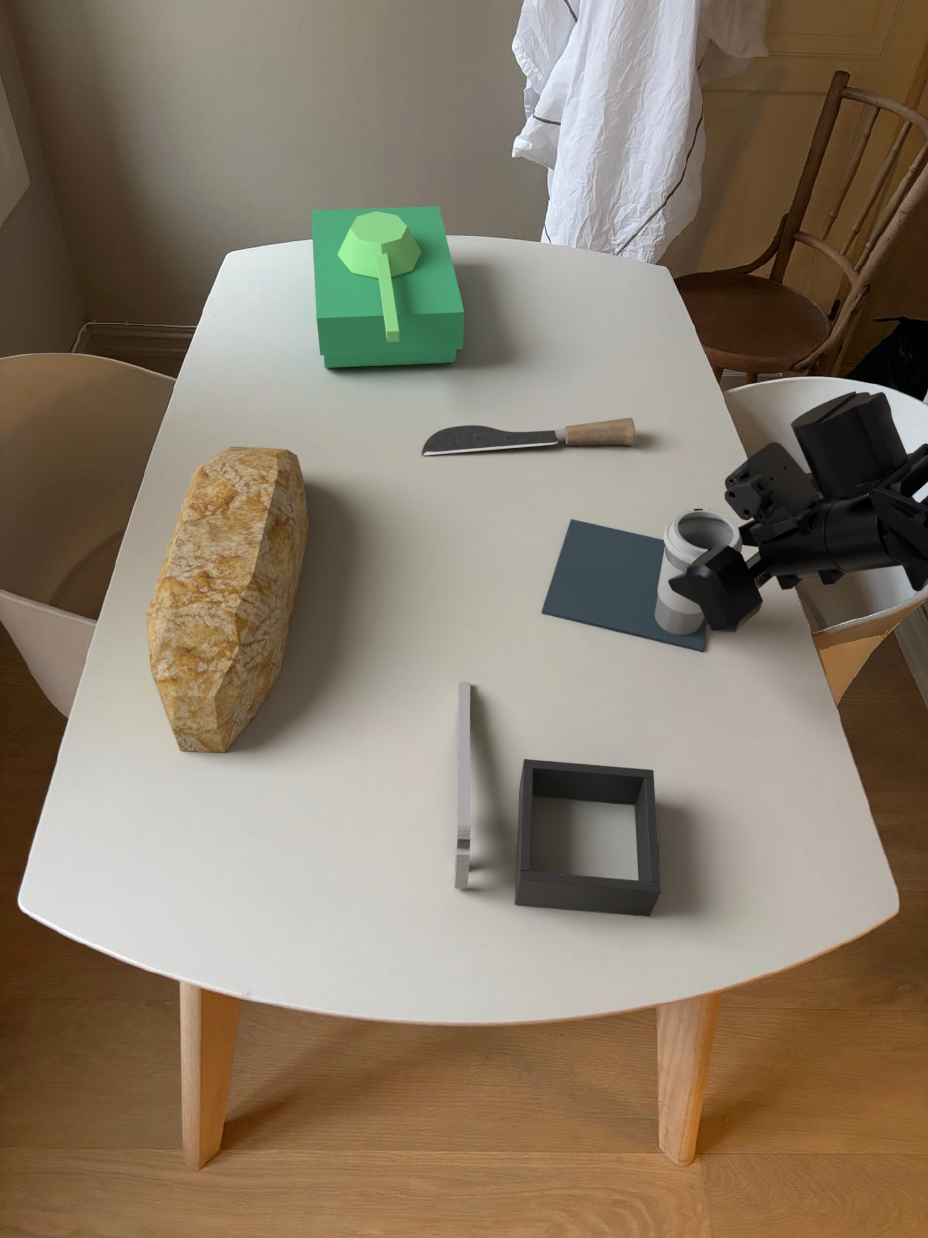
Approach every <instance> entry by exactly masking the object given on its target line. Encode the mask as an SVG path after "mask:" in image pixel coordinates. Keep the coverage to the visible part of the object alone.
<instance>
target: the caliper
mask: <svg viewBox="0 0 928 1238" xmlns="http://www.w3.org/2000/svg"><path fill="white" fill-rule="evenodd" d="M458 682H459V683H458V720H457V721H458V722H457V723H458V724H457V725H458V726H457V776H456V777H457V780H456V781H457V783H456V785H457V786H456V787H457V788H456V829H455V830H456V832H455V833H456V835H455V854H454V855H455V856H454V872H455V873H454V889H459V890H467V889H468V886H469V885H468V884H469V872H470V857H471V772H470V771H471V682H470V681H458Z"/></svg>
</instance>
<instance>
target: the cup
mask: <svg viewBox="0 0 928 1238" xmlns="http://www.w3.org/2000/svg"><path fill="white" fill-rule="evenodd" d="M738 527H739V526H738V525H737V524H736V522H735V521H734V520H733V519H731V517H729V516H728V515H726V514H725V513H723V512H720V511H718V510H716V509H713V508H712V509H711V508H706V507H695V508H689V509H686V510H683V511H682V512H680V513H679V514H677V515H676V517H675V518H674V519H672V520H671V521H670V522H669V523H668V525H666V527H665V528H664V532H663V540H664V543H665V545H666V546H665V550H664V555H663V561H662V567H661V572H660V578H659V584H658V598H657V603H656V609H655V619H656V621H657V623H658V624H659V625H660V626H661V627H662V628H663V629H664V630H666V631H668V632H670V633H673V634H677V635H688V634H691V633H694V632H695V631H697V630H698V629H699V627H700V625H701V623H702V621H703V619H704V617H705V616H704V614H703V612H702V610H701V608H700V606H699V605H698V604H696V603H694V602H692V601H690V600H689V599H687V598H685V597H683V596H681V595H679V594H677V593H676V592H674V591H672V589H671V587H670V585H669V583H668V580H669V579H671V578H673V577H675V576H678V575H680V574H683V573H685V572H686V571H687V567H688V566H690V565H691V564H692V562H693V561H695V560H696V559H697V558H698V557H700V556H701V555H702V554H704V553H705V552H706V551H707V550H709V549H710V548H711V550H713V549H715V548H718V547H721V546H727V545H729V546H730V547H732V548H734V549H735V550H737V551H738V552H740V553H741V554H742V550H743V545H742V539H741V535H740V533H739V529H738Z"/></svg>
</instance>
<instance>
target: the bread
mask: <svg viewBox="0 0 928 1238" xmlns="http://www.w3.org/2000/svg"><path fill="white" fill-rule="evenodd" d="M309 531H310V526H309V517H308V508H307V499H306V491H305V483H304V476H303V472H302V468H301V464H300V461H299V458H298V454H296V453H294V452H293V451H290V450H289V449H288V448H287V449H286V448H285V449H284V448H277V447H260V446H259V447H255V446H230V447H228V448H226V449H224V450H223V451H221V452H219V453H217V454H216V455H214V456H213V457H211V458H209V459H207V460H206V461H204V462H203V463H201V464H198V466H196V468H195V469H194V471H193V472H192V476H191V479H190V482H189V484H188V487H187V491H186V494H185V497H184V499H183V503H182V505H181V509H180V511H179V514H178V518H177V521H176V523H175V525H174V529H173V532H172V535H171V538H170V542H169V544H168V547H167V550H166V552H165V555H164V559H163V561H162V565H161V568H160V571H159V574H158V577H157V580H156V583H155V586H154V588H153V592H152V595H151V598H150V601H149V604H148V607H147V610H146V612H145V620H146V630H147V631H146V632H147V641H148V642H147V643H148V654H149V665H150V673H151V675H152V678H153V681H154V685H155V686H156V689H157V692H158V695H159V698H160V701H161V704H162V707H163V710H164V713H165V715H166V718H167V720H168V723H169V725H170V728H171V730H172V734H173V736H174V739H175V741H176V743H177V746H178V749H179V751H180V752H181V751H182V752H200V753H201V752H204V753H226V751H228V749H229V748H230V746H231V745H232V744H233V743H234V742H235V741H236V740H237V738H238V737H239V736H240V735H241V733H243V731H244V730H245V729H246V727H248V725H249V724H250V723H251V722H252V720H254V718H255V717H256V716H257V713H258V712H259V711H260V708H261V707H262V705H263V704H264V702H265V700H266V699H267V696H268V694H269V692H270V691H271V689H272V688H273V686H274V684H275V682H276V681H277V678H278V677H279V675H280V674H281V671H282V666H283V662H284V656H285V652H286V646H287V642H288V636H289V631H290V626H291V622H292V617H293V611H294V606H295V602H296V597H297V593H298V592H297V591H298V586H299V581H300V577H301V572H302V566H303V561H304V556H305V552H306V546H307V541H308V537H309Z"/></svg>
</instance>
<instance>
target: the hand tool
mask: <svg viewBox="0 0 928 1238" xmlns="http://www.w3.org/2000/svg"><path fill="white" fill-rule="evenodd" d="M559 442H564V443H565V445H566V446H593V445H594V446H595V445H599V446H600V445H624V446H634V445H635V443H636V427H635V422H634V419H633V418H632V417H625V418H617V419H610V420H602V421H594V422H586V423H580V424H571V425H566V426H564V428H561V429H551V430H535V431H509V430H502V429H498V428H495V427H490V426H487V425H486V426H485V425H475V424H473V425H472V424H471V425H470V424H468V425H457V426H451V427H446V428H443V429H440V430H437V431H436V432H435V433H433V434H432V435H431V436H430V437H429V438H427V440H426V441H425V442H424V444H423V447H422V451H421V456H435V455H445V454H457V453H467V452H468V453H470V452H480V451H493V450H503V449H515V448H528V447H539V446H540V447H542V446H550V445H551V446H552V445H556V444H558V443H559Z"/></svg>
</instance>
